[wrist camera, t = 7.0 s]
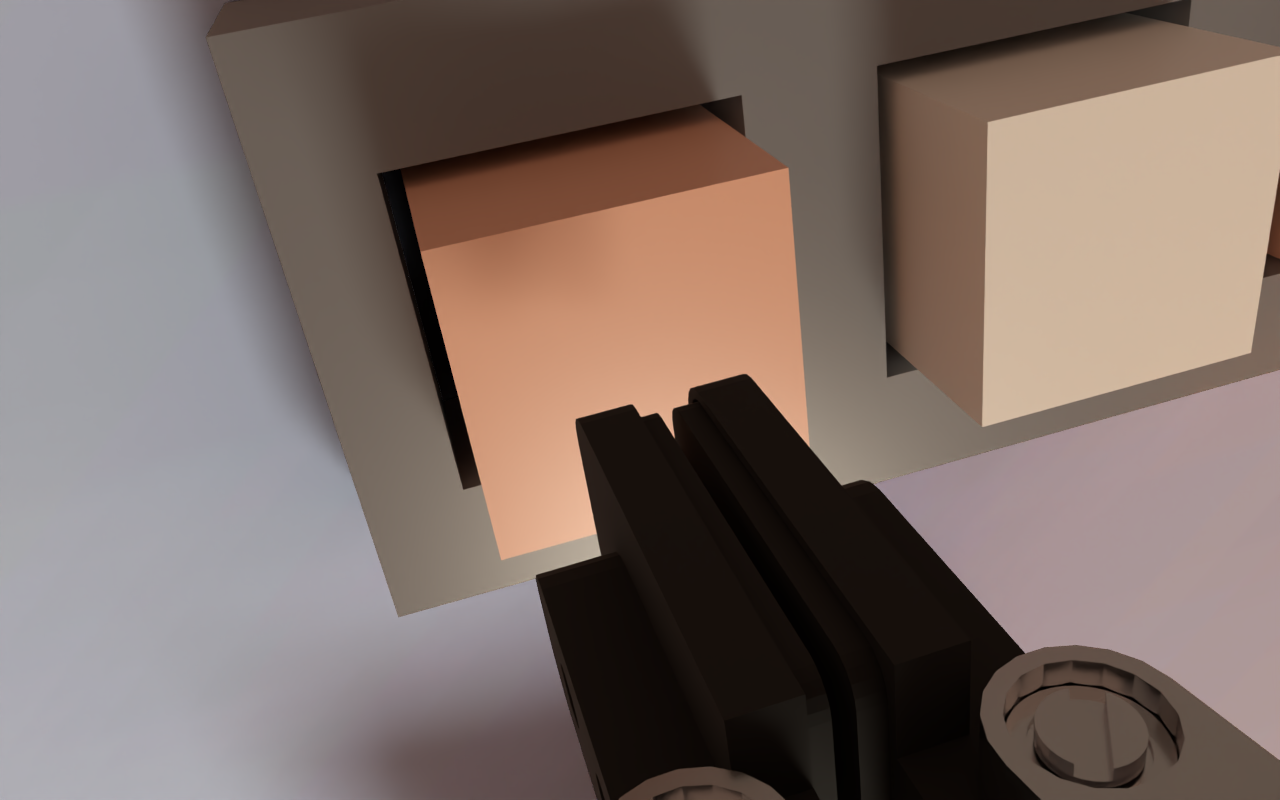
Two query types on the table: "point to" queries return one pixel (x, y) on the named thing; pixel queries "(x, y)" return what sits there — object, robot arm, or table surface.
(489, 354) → the outer button
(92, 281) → the table surface
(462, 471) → the control panel
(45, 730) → the table surface
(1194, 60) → the middle button
